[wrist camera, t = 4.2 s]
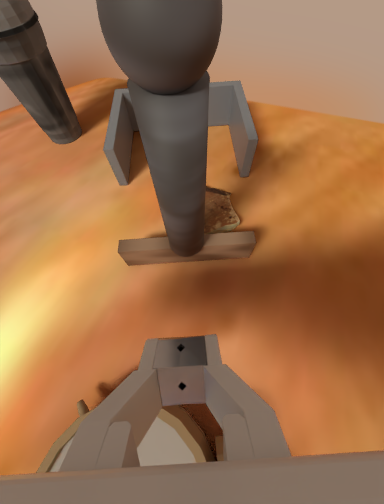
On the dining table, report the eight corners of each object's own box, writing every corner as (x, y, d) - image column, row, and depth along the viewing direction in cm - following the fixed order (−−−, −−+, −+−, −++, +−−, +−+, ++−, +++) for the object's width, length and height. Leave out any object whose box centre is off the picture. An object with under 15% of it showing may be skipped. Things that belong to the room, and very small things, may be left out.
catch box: (234, 120, 31) (240, 80, 27) (248, 176, 26) (258, 139, 22) (127, 127, 31) (115, 89, 27) (119, 185, 26) (103, 150, 22)
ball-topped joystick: (244, 236, 22) (379, -122, 5) (251, 268, 20) (470, -105, 4) (130, 244, 22) (-77, -90, 5) (127, 276, 20) (-177, -58, 4)
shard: (152, 181, 27) (149, 170, 25) (207, 164, 28) (207, 152, 26) (181, 251, 22) (180, 243, 21) (245, 228, 23) (249, 218, 22)
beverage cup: (44, 157, 29) (-208, -169, 11) (38, 127, 32) (-169, -165, 14) (96, 140, 30) (-55, -176, 12) (85, 113, 33) (-50, -171, 15)
